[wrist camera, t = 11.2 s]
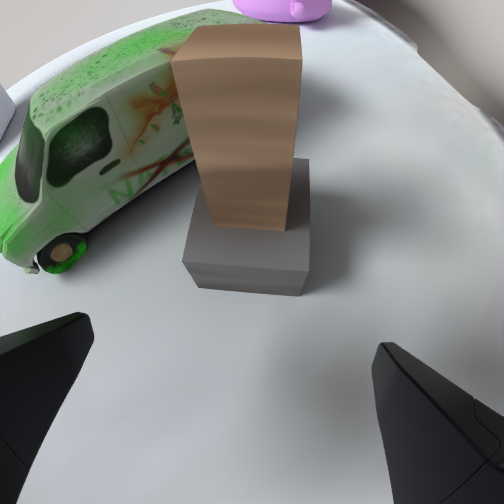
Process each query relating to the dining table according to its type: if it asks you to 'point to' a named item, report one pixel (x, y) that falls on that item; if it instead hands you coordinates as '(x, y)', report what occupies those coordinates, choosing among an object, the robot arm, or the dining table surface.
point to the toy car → (96, 143)
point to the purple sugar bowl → (284, 9)
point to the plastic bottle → (5, 110)
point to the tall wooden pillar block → (245, 158)
